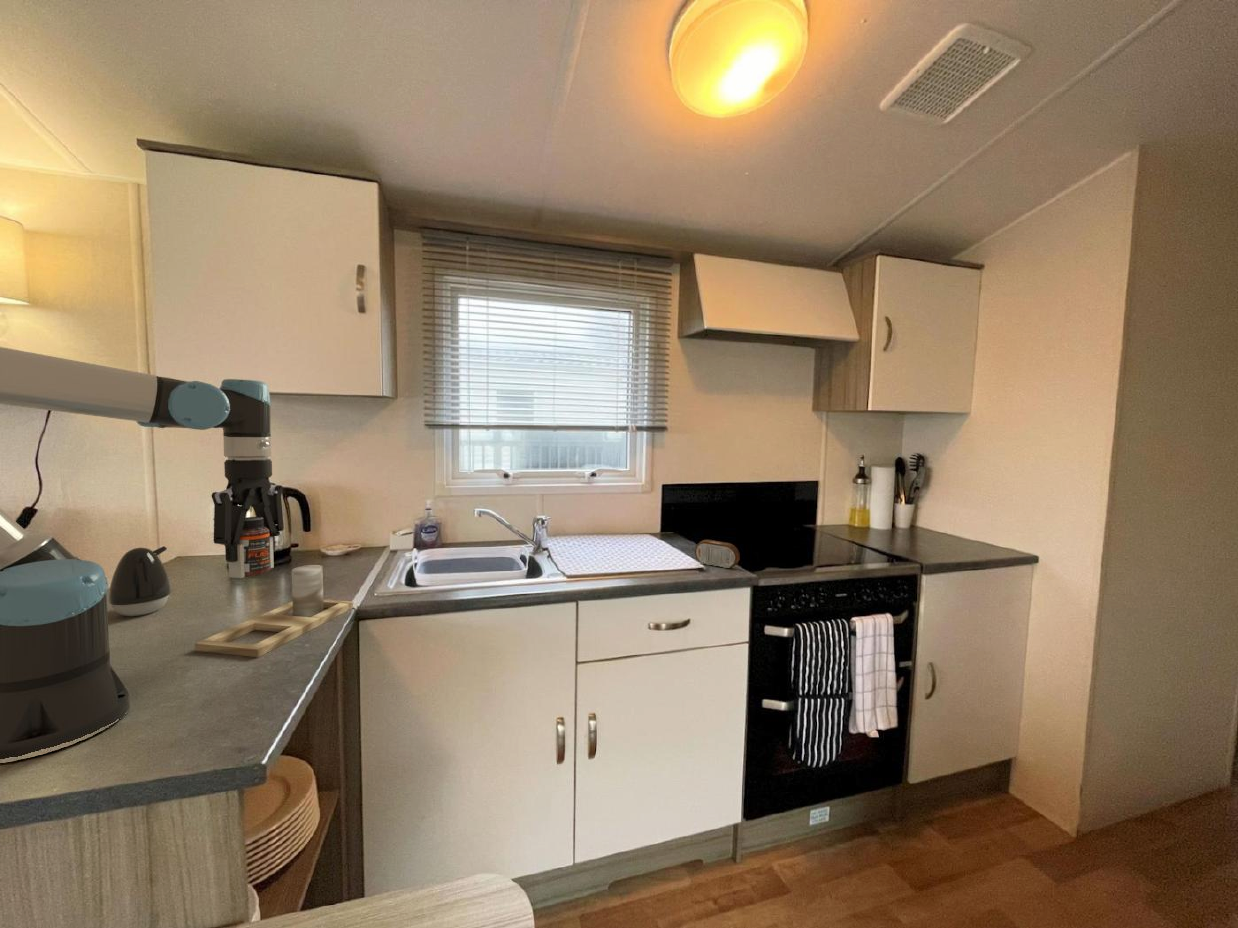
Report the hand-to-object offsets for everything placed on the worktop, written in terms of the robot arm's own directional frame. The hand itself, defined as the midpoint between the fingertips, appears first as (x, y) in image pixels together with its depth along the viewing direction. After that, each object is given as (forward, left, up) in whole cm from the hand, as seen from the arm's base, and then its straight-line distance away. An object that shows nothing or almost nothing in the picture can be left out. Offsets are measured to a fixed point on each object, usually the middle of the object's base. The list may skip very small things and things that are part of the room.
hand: (252, 571), depth 97 cm
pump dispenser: (+8, +38, -15) cm, 41 cm away
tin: (+77, -97, -15) cm, 125 cm away
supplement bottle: (0, 0, 0) cm, 0 cm away
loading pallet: (+7, 0, -14) cm, 16 cm away
